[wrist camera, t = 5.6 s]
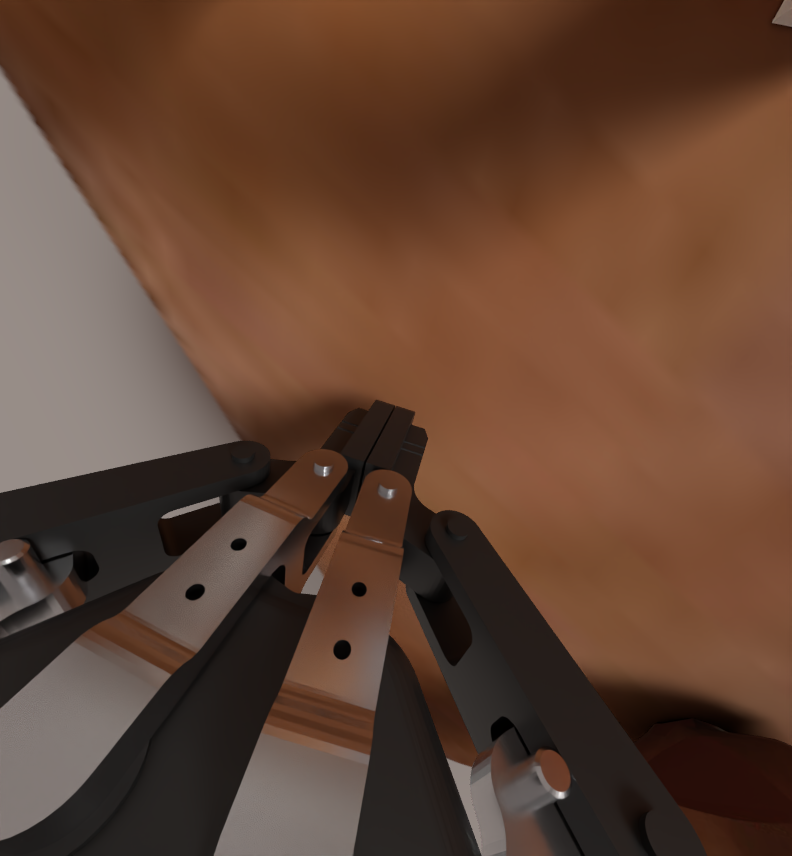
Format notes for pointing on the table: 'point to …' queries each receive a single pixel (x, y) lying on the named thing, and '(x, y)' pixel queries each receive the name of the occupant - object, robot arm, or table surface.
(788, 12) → the bridge
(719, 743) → the butternut squash
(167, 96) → the table surface
